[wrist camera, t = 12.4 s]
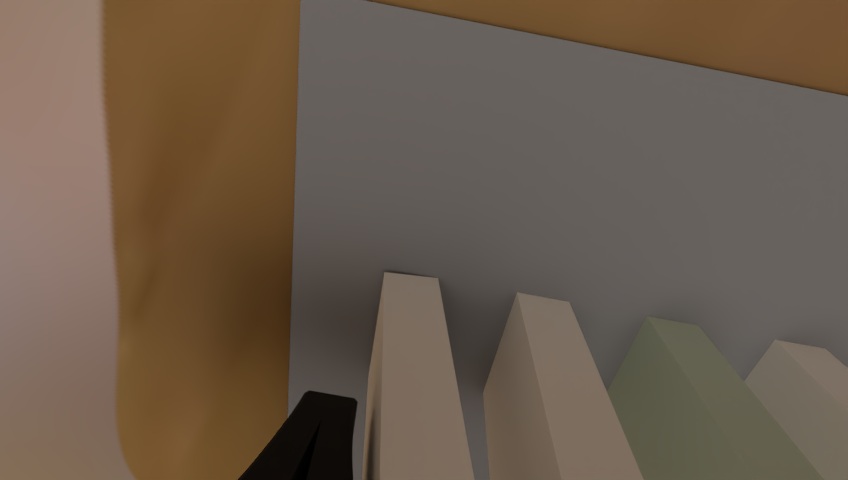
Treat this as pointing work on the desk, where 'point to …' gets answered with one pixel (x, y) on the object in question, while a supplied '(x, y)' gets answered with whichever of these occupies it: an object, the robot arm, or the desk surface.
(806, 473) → the sage domino
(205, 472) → the desk surface
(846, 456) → the domino
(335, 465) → the robot arm
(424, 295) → the domino
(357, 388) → the charcoal mat
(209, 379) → the desk surface
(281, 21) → the desk surface
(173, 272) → the desk surface
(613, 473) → the domino
